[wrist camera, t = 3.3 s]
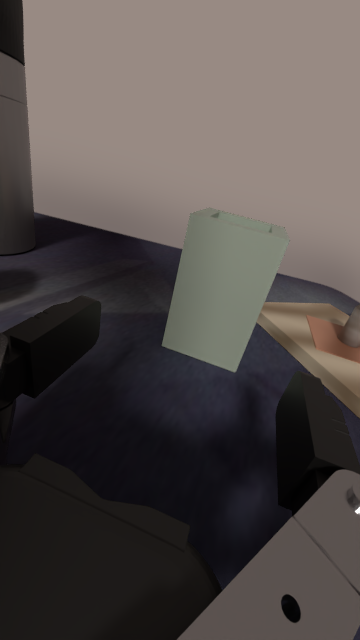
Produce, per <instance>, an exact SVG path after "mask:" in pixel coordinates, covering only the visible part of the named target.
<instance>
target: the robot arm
mask: <svg viewBox="0 0 360 640" xmlns="http://www.w3.org/2000/svg"><path fill="white" fill-rule="evenodd" d="M24 66H25V63H24V45H23V6H22V0H0V255H1V254H15V253H21V252H25V251H29V250H31V249H33V248H34V247H35V244H36V242H35V226H34V207H33V191H32V175H31V159H30V143H29V127H28V110H27V97H26V81H25V67H24ZM100 316H101V303H100V302H99V301H97V300H94V299H91V298H88V297H86V296H79V297H77V298H75V299H74V300H72V301H70V302H68V303H67V302H66V303H62V304H57V305H53V306H51V307H49V308H48V309H46V310H44V311H43V312H40V313H38V314H36V315H34V317H31V318H29V319H27V320H25V321H23V322H21V323H20V324H18V325H16V326H14V327H12V328H10V329H8V330H6V331H5V332H3V333H0V640H353V638H354V636H355V634H356V632H357V629H358V627H359V625H360V465H359V462H358V459H357V456H356V453H355V450H354V447H353V444H352V441H351V438H350V436H349V431H348V428H347V425H345V423H346V422H345V419H344V416H343V413H342V410H341V409H340V408H339V406H338V405H337V404H336V402H335V401H334V400H333V398H332V397H330V396H327V395H325V392H324V389H323V385H322V381H321V379H320V378H318V377H315V376H312V375H309V374H306V373H303V372H301V371H297V372H296V373H295V374H294V376H293V378H292V379H291V381H290V383H289V385H288V387H287V388H286V390H285V392H284V394H283V395H282V397H281V399H280V401H279V403H278V406H277V410H276V445H277V477H278V505H280V506H282V507H284V508H287V509H289V510H291V511H292V517H291V518H290V519H289V520H288V522H287V523H286V524H285V525H284V526H283V527H282V528H281V529H280V530H279V531H278V532H277V533H276V534H275V535H274V536H273V538H272V539H271V540H270V541H269V542H268V543H267V544H266V545H265V546H264V547H263V548H262V549H261V550H260V551H259V552H258V554H257V555H256V556H255V557H254V558H253V559H252V560H251V561H250V562H249V563H248V564H247V565H246V566H245V567H244V568H243V570H242V571H241V572H240V573H239V574H238V575H237V576H236V577H235V578H234V579H233V580H232V581H231V582H230V583H229V585H228V586H227V587H226V588H225V589H224V590H223V591H222V589H221V587H220V584H219V582H218V580H217V578H216V577H215V575H214V573H213V571H212V570H211V568H210V566H209V565H208V564H207V562H206V561H205V559H204V558H203V557H202V555H201V554H200V553H199V552H198V551H197V550H196V549H195V547H194V546H192V545H191V544H190V543H189V542H188V541H187V538H188V534H189V530H190V525H188V524H185V523H183V522H181V521H179V520H177V519H175V518H173V517H170V516H168V515H166V514H164V513H162V512H160V511H158V510H156V509H153V508H151V507H149V506H142V505H136V504H129V503H122V502H116V501H109V500H104V499H102V498H101V497H99V496H98V495H97V494H96V493H95V492H94V491H93V490H92V489H91V488H90V487H89V486H87V485H86V484H85V483H84V482H83V481H82V480H81V479H80V478H79V477H78V476H77V475H76V474H75V473H74V472H73V471H71V470H70V469H68V468H66V467H64V466H62V465H60V464H57V463H55V462H53V461H51V460H49V459H47V458H45V457H43V456H40V455H38V454H36V453H35V454H34V455H33V456H32V457H31V459H30V460H29V461H28V462H27V463H26V464H25V465H22V464H8V465H7V451H8V445H9V440H10V435H11V430H12V424H13V419H14V414H15V409H16V398H17V397H18V396H19V395H21V394H22V393H23V394H25V395H28V396H30V397H32V398H36V397H37V396H38V395H39V394H40V393H41V392H43V391H44V390H45V389H46V388H47V387H48V386H49V385H50V384H52V383H53V382H54V381H55V380H56V379H57V378H58V377H59V376H61V375H62V374H63V373H64V372H65V371H66V370H67V369H68V368H70V367H71V366H72V365H73V364H74V363H75V362H76V361H77V360H79V359H80V358H81V357H82V356H83V355H84V354H85V353H86V352H88V351H89V350H90V349H91V348H92V347H93V346H94V345H95V343H96V342H97V339H98V337H99V330H100Z"/></svg>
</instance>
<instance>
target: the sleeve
mask: <svg viewBox="0 0 360 640" xmlns="http://www.w3.org/2000/svg"><path fill="white" fill-rule="evenodd" d="M289 241H290V240H289V237H288V235H287V232H286V230H285V228H284V227H280V226H277V225H273V224H269V223H265V222H261V221H257V220H254V219H250V218H246V217H243V216H239V215H235V214H231V213H228V212H224V211H220V210H216V209H212V208H207V209H204V210H201V211H197V212H194V213H191V214H190V218H189V223H188V227H187V232H186V236H185V241H184V246H183V250H182V255H181V259H180V264H179V269H178V273H177V278H176V283H175V287H174V292H173V296H172V301H171V306H170V310H169V315H168V319H167V324H166V329H165V333H164V338H163V343H162V346H163V347H166V348H169V349H171V350H174V351H177V352H180V353H182V354H185V355H188V356H191V357H194V358H196V359H199V360H202V361H205V362H207V363H210V364H213V365H216V366H218V367H221V368H224V369H227V370H229V371H232V372H236V370H237V367H238V365H239V363H240V360H241V358H242V355H243V353H244V350H245V348H246V346H247V343H248V341H249V338H250V336H251V334H252V331H253V329H254V326H255V324H256V321H257V319H258V317H259V314H260V312H261V309H262V307H263V304H264V302H265V300H266V297H267V295H268V292H269V290H270V287H271V285H272V283H273V280H274V278H275V275H276V273H277V270H278V268H279V265H280V263H281V261H282V258H283V256H284V253H285V251H286V249H287V246H288V244H289Z"/></svg>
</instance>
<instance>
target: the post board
mask: <svg viewBox="0 0 360 640" xmlns="http://www.w3.org/2000/svg"><path fill="white" fill-rule="evenodd" d="M256 322H257V323H258V324H259V325H260V326H261V327H262V328H263V329H265V330H266V331H267V332H268V333H269V334H270V335H271V336H272V337H273V338H274V339H275V340H276V341H277V342H278V343H279V344H281V345H282V346H283V347H284V348H285V349H286V350H287V351H288V352H289V353H290V354H291V355H292V356H293V357H294V358H296V359H297V360H298V361H299V362H300V363H301V364H302V365H303V366H304V367H305V368H306V369H307V370H308V371H309V372H310V373H312V374H313V375H314V376H315V377H318V378H320V379H321V381H322V384H323V385H324V386H325V387H327V388H328V389H329V390H330V391H331V392H332V393H333V394H334V395H335V396H336V397H337V398H338V399H339V400H340V401H341V402H343V403H344V404H345V405H346V406H347V407H348V408H349V409H350V410H351V411H352V412H353V413H354V414H355V415H356V416H358V417H359V418H360V304H359V305H358V306H356V307H355V309H354V310H353V312H352V314H351V315H350V316H348V315H347V314H345V313H343V312H342V311H340V310H338V309H337V308H335V307H334V306H332V305H330V304H320V303H276V302H264V304H263V307H262V309H261V312H260V314H259V317H258V319H257V321H256Z"/></svg>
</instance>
